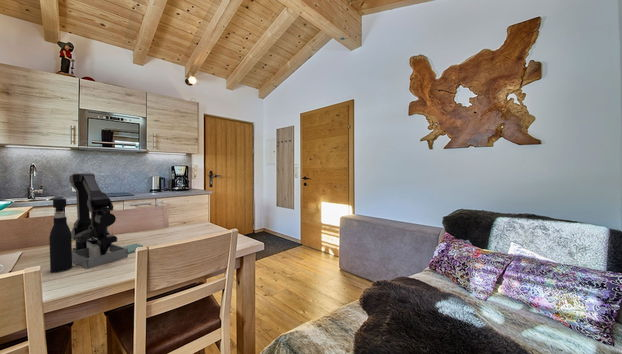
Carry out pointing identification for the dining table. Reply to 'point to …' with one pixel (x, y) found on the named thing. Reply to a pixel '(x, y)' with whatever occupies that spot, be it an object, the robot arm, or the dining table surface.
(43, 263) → the dining table surface
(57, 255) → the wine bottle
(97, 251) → the block
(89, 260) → the grey tray
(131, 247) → the mat
